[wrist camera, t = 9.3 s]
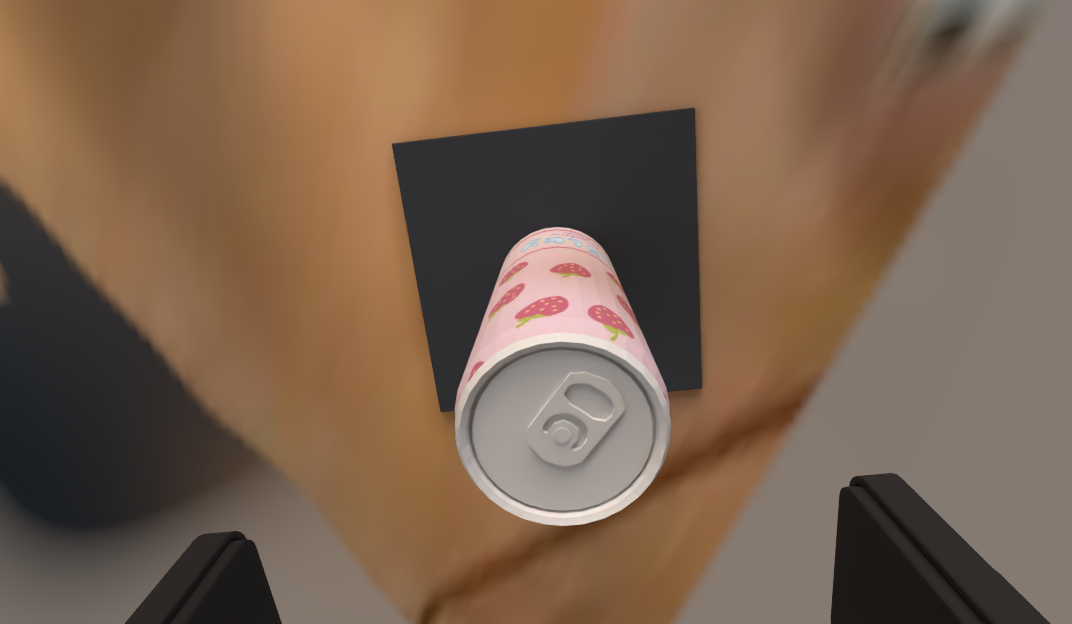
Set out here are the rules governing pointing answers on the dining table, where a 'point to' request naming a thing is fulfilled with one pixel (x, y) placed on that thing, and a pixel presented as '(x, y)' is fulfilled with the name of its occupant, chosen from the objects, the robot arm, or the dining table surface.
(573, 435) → the beverage can
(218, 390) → the dining table surface
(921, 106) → the dining table surface
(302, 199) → the dining table surface
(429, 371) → the dining table surface
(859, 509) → the robot arm
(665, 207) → the mat
